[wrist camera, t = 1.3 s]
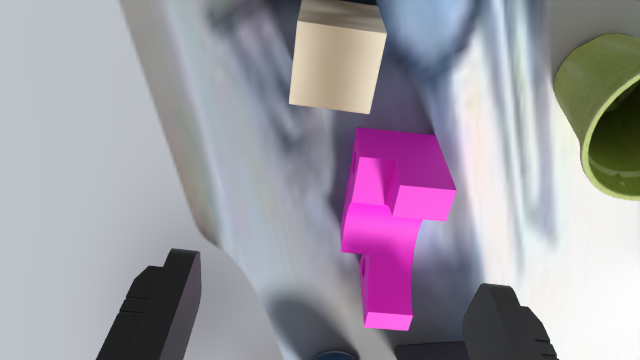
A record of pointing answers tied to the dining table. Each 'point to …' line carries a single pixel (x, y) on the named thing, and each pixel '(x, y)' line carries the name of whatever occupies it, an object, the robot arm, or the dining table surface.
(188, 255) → the robot arm
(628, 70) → the plant pot
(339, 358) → the soda can
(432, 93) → the dining table surface
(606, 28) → the dining table surface
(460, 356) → the dark grey box
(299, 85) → the maple brick
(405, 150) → the toy block
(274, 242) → the dining table surface
